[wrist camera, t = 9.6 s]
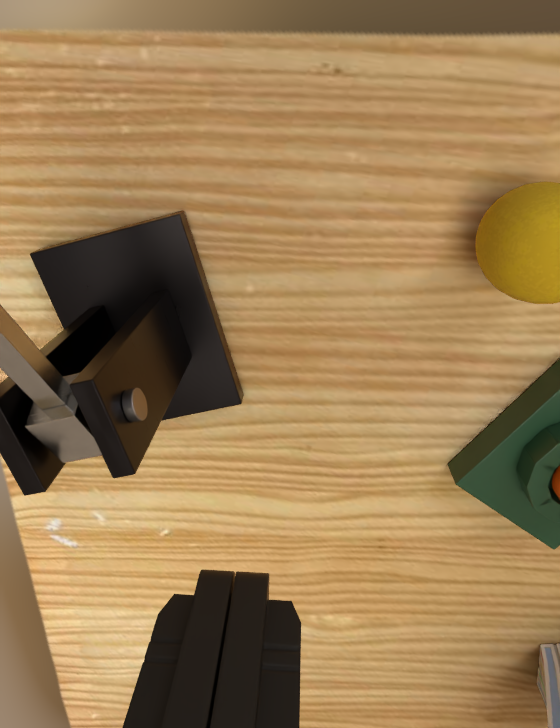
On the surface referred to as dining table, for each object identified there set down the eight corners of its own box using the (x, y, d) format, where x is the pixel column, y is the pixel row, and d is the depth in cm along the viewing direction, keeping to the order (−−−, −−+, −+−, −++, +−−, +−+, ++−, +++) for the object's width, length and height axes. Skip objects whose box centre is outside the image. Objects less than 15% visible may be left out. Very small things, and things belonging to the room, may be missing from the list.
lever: (-184, 195, 16) (-234, 240, 14) (-37, 150, 15) (-71, 192, 13) (47, 424, 24) (33, 469, 23) (147, 403, 23) (140, 448, 22)
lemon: (439, 252, 29) (482, 295, 22) (495, 156, 27) (564, 168, 20) (522, 292, 30) (591, 346, 23) (584, 201, 28) (681, 229, 21)
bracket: (39, 249, 30) (-128, 327, 19) (184, 210, 29) (102, 268, 17) (116, 421, 35) (21, 569, 23) (243, 395, 34) (211, 537, 22)
